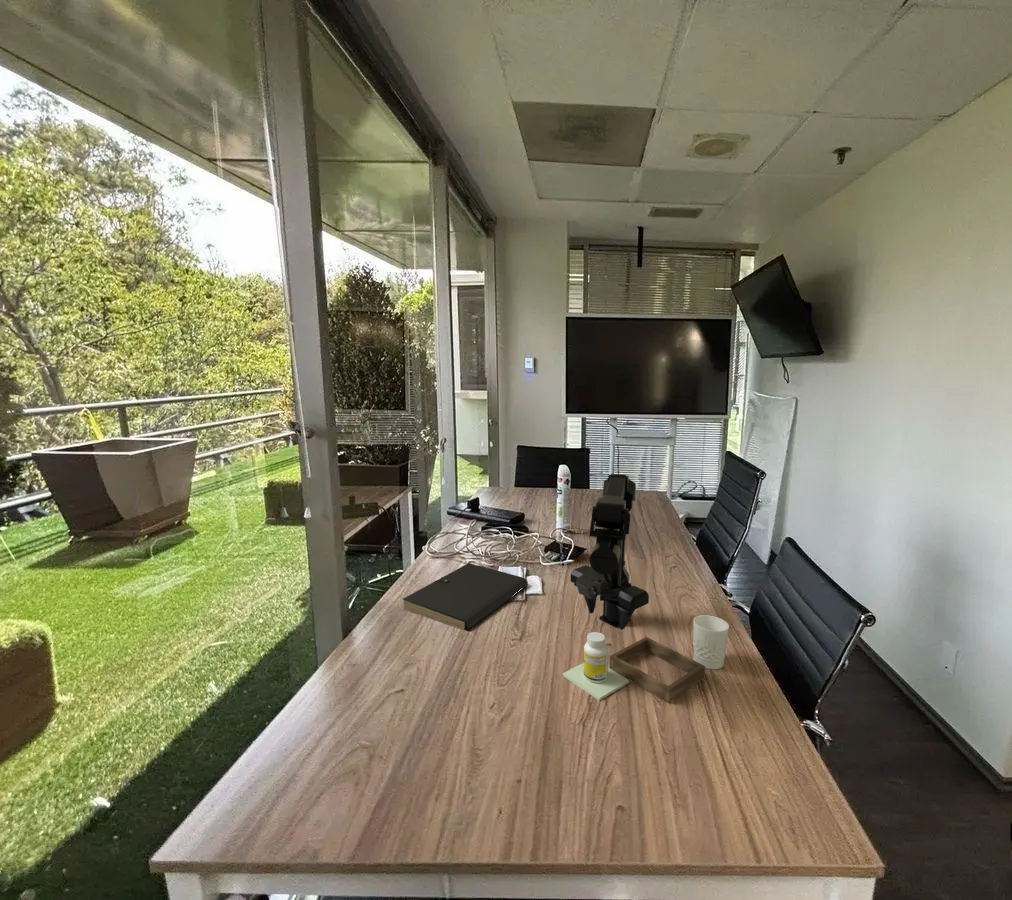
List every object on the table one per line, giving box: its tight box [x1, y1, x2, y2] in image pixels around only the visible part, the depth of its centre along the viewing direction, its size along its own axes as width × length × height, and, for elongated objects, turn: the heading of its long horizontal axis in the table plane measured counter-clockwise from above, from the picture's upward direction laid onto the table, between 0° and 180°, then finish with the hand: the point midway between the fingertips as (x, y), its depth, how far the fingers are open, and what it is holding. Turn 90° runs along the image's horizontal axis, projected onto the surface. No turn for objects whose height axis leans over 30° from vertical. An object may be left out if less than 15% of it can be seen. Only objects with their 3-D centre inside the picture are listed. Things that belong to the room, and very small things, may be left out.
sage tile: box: [562, 662, 630, 701], centre depth 110 cm, size 11×10×1 cm
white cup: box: [692, 614, 730, 670], centre depth 117 cm, size 8×8×10 cm
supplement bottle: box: [583, 631, 609, 683], centre depth 110 cm, size 5×5×10 cm
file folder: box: [402, 562, 529, 632], centre depth 151 cm, size 33×4×24 cm
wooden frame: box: [608, 636, 706, 704], centre depth 113 cm, size 16×14×3 cm
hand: (606, 620), depth 112 cm, fingers open, 9 cm apart
